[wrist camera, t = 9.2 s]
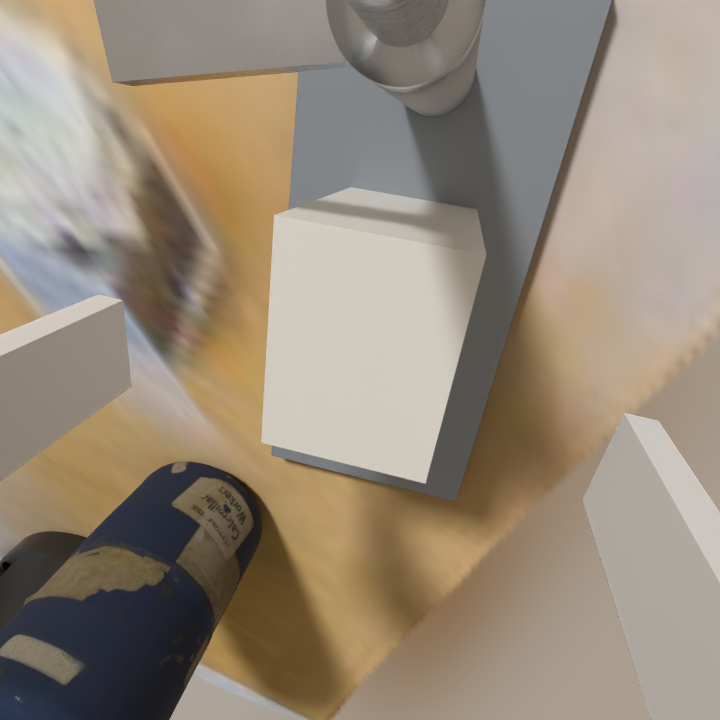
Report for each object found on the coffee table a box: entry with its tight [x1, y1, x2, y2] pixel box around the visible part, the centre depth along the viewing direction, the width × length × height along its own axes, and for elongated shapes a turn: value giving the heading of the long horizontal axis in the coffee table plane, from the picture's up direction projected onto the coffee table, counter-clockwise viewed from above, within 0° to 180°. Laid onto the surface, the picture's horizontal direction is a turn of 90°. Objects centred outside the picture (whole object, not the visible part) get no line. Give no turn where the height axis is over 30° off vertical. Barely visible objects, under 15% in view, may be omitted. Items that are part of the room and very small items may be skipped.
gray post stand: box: [271, 0, 612, 502], centre depth 19 cm, size 26×12×11 cm, turn 171°
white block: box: [261, 187, 486, 483], centre depth 19 cm, size 8×6×10 cm
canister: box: [0, 462, 262, 720], centre depth 27 cm, size 10×10×18 cm
